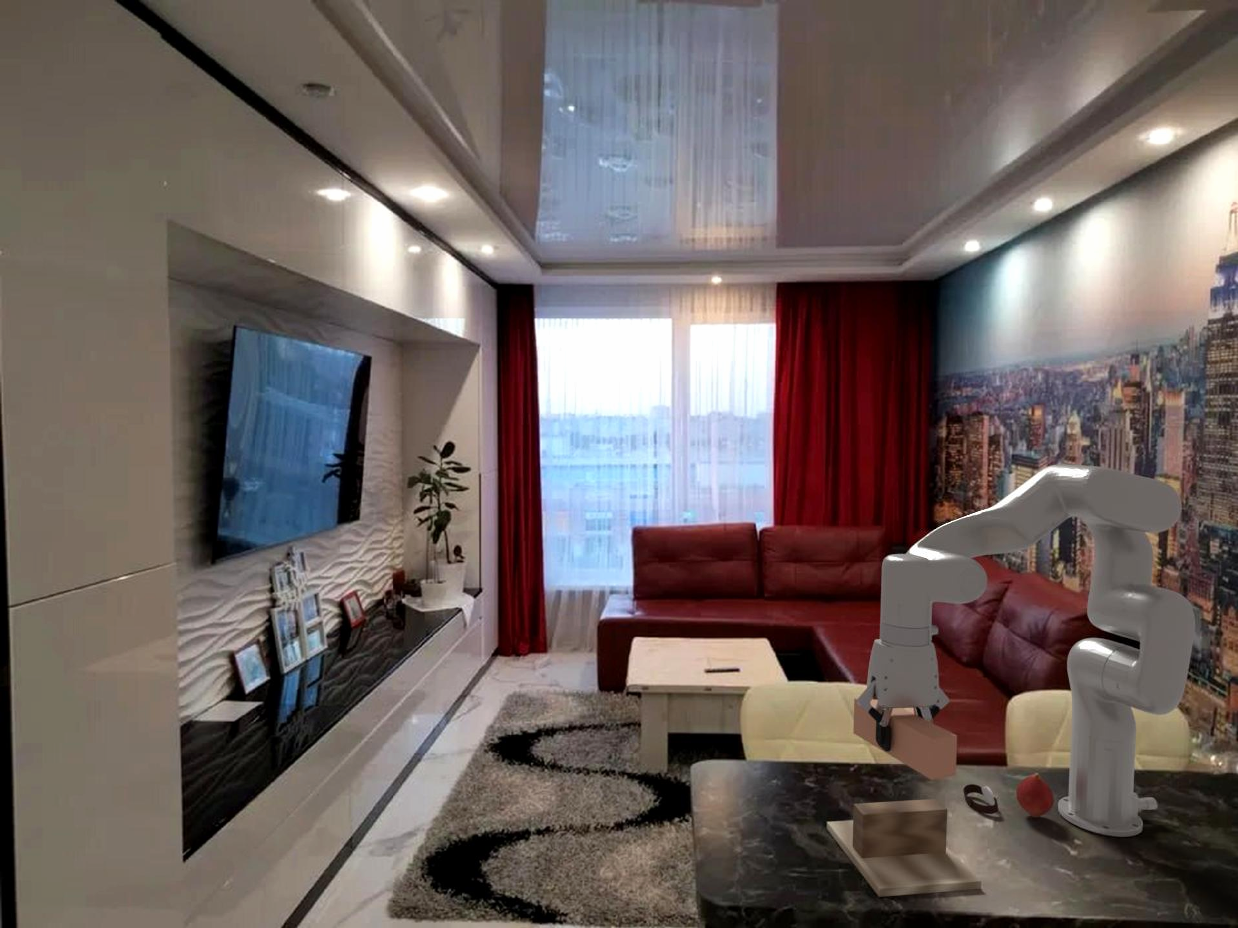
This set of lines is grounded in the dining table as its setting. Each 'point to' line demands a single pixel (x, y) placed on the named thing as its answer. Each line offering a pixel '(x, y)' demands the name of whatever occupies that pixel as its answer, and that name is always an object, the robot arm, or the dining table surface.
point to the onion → (1035, 796)
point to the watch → (986, 793)
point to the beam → (912, 741)
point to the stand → (903, 848)
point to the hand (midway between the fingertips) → (901, 745)
